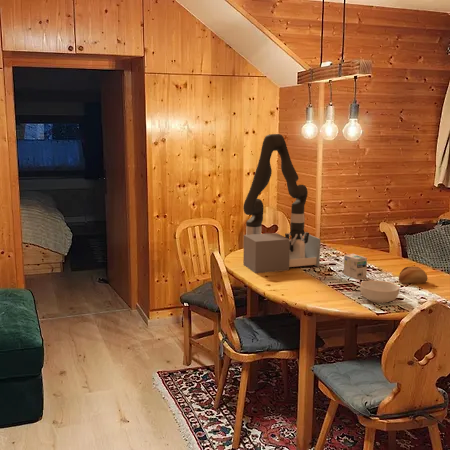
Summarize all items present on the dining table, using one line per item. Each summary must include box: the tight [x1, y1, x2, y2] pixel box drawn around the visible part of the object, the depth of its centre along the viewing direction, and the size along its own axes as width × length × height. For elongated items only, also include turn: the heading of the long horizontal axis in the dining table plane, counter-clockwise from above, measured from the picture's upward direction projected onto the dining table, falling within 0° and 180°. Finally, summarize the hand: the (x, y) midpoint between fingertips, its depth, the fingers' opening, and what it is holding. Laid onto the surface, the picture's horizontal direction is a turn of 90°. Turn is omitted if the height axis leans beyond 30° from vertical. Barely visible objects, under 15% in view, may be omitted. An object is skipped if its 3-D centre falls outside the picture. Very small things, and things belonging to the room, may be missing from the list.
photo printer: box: [289, 239, 305, 259], centre depth 303 cm, size 10×4×12 cm, turn 36°
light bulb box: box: [343, 253, 368, 280], centre depth 281 cm, size 11×7×11 cm, turn 27°
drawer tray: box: [289, 233, 321, 268], centre depth 303 cm, size 18×20×16 cm
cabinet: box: [243, 232, 291, 274], centre depth 297 cm, size 18×20×17 cm
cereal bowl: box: [359, 279, 400, 304], centre depth 243 cm, size 17×17×7 cm
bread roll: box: [398, 266, 428, 284], centre depth 270 cm, size 10×15×8 cm, turn 104°
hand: (296, 250), depth 303 cm, fingers open, 5 cm apart
